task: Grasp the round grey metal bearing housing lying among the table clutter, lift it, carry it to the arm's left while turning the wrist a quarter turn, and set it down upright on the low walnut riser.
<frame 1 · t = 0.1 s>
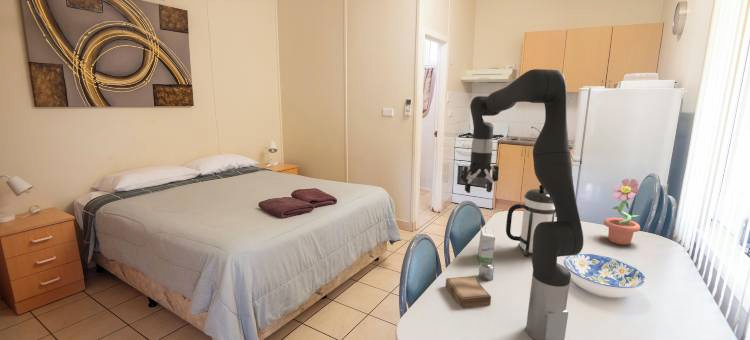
hand: (478, 192, 138), 29 cm above the table, fingers open, 8 cm apart
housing: (485, 277, 132), on the table
walnut riser: (466, 295, 120), on the table
ink box: (485, 259, 147), on the table
decorative flower: (617, 241, 167), on the table
coffee press: (531, 252, 154), on the table
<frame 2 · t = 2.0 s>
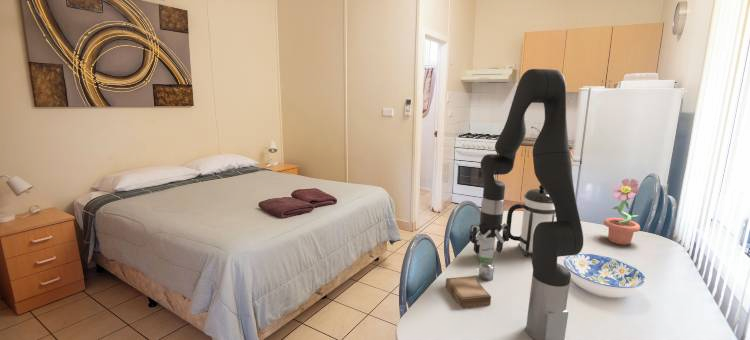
hand: (487, 252, 130), 10 cm above the table, fingers open, 8 cm apart
nothing on the table moved.
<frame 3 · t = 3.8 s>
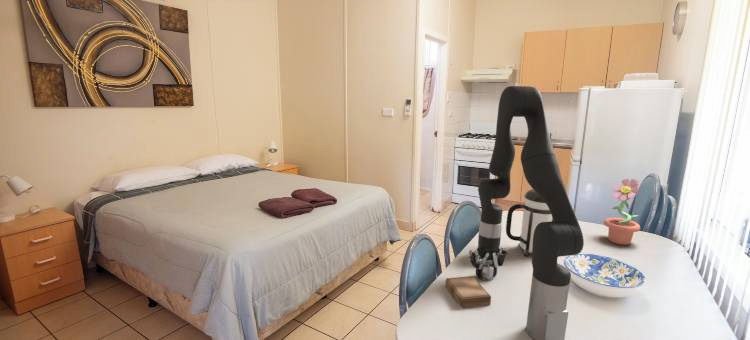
hand: (485, 276, 132), 0 cm above the table, fingers closed on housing, 5 cm apart
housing: (485, 277, 132), on the table, touching gripper
everything else where it was.
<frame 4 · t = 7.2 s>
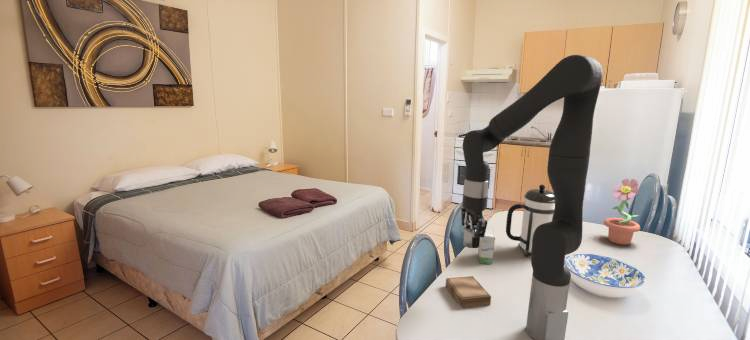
hand: (471, 243, 116), 18 cm above the table, fingers closed on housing, 5 cm apart
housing: (471, 245, 116), point 18 cm above the table, touching gripper
everything else where it was.
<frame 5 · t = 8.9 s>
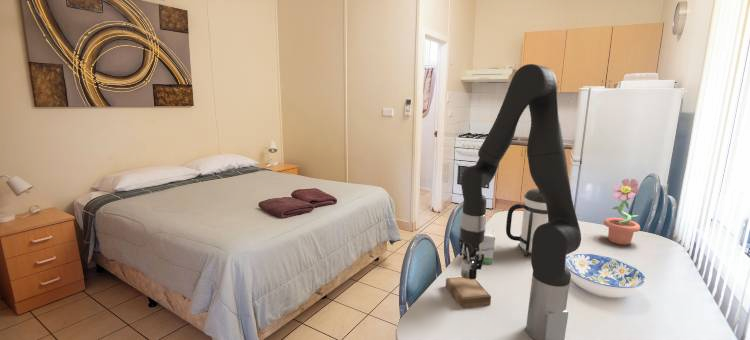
hand: (468, 274, 119), 8 cm above the table, fingers closed on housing, 5 cm apart
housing: (468, 275, 119), point 7 cm above the table, touching gripper
everything else where it was.
when the fingers open (4 cm above the table, at t = 10.5 s): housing stays where it is, resting on walnut riser.
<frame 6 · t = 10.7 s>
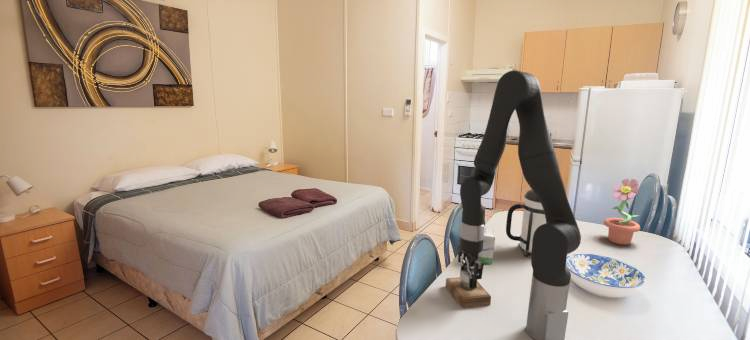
hand: (468, 282, 119), 5 cm above the table, fingers open, 6 cm apart
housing: (467, 286, 119), point 3 cm above the table, touching walnut riser
everything else where it was.
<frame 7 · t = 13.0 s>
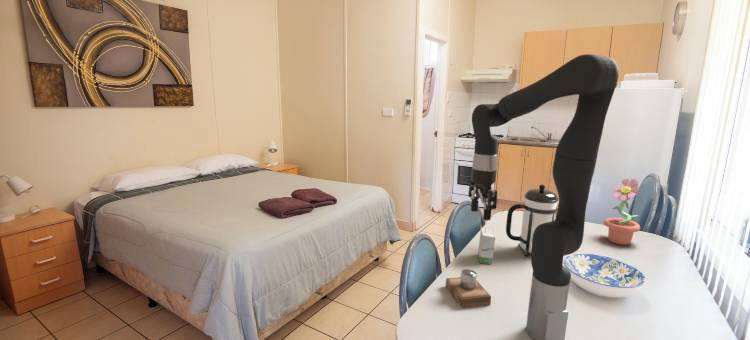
hand: (480, 215, 118), 27 cm above the table, fingers open, 8 cm apart
nothing on the table moved.
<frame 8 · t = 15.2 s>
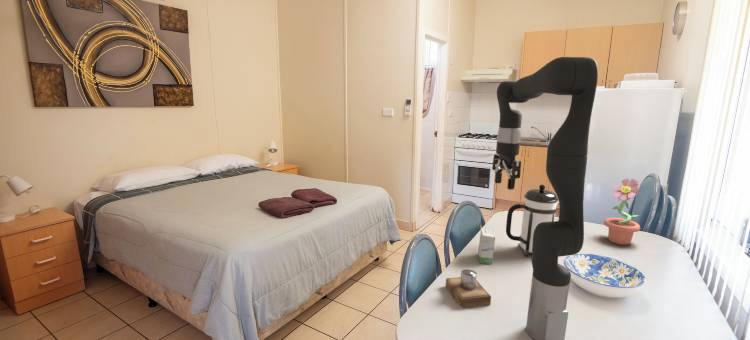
hand: (504, 186, 128), 34 cm above the table, fingers open, 8 cm apart
nothing on the table moved.
at the end: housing inside the target area on the walnut riser (0.1 cm from its centre), point 3.2 cm above the walnut riser's base; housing tilted 0°; the gripper is holding nothing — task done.
